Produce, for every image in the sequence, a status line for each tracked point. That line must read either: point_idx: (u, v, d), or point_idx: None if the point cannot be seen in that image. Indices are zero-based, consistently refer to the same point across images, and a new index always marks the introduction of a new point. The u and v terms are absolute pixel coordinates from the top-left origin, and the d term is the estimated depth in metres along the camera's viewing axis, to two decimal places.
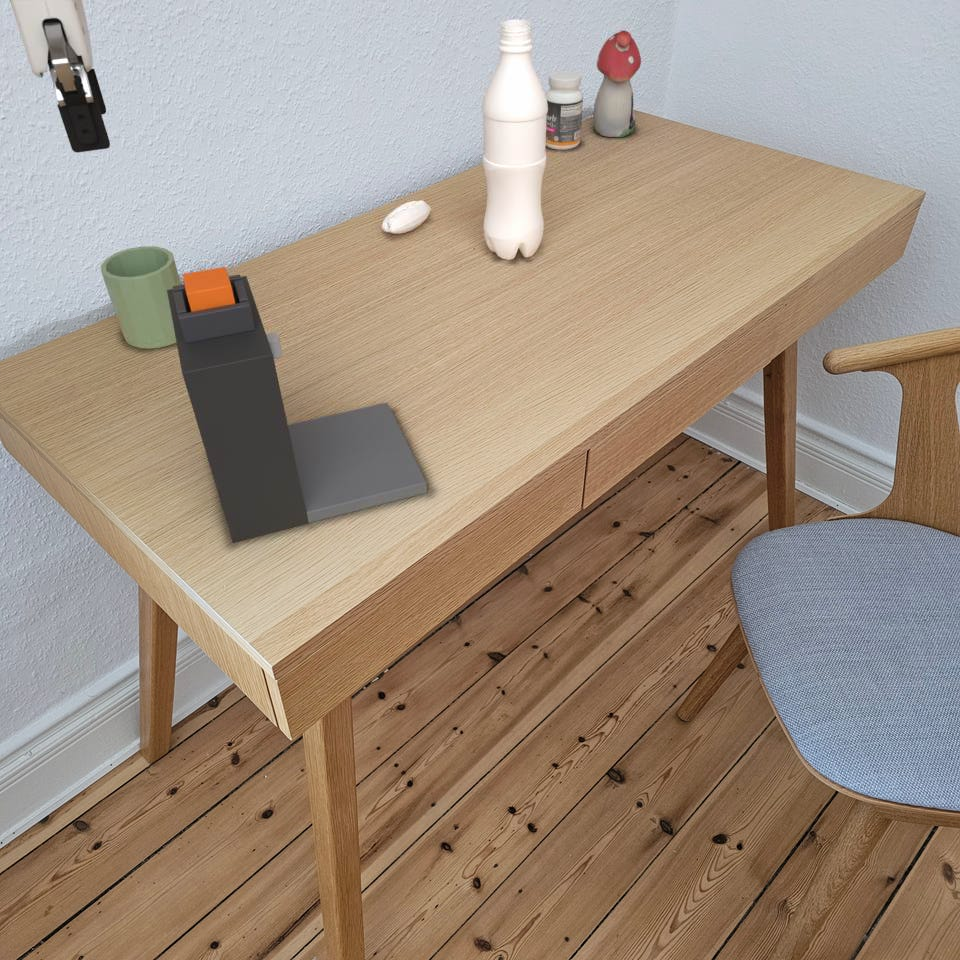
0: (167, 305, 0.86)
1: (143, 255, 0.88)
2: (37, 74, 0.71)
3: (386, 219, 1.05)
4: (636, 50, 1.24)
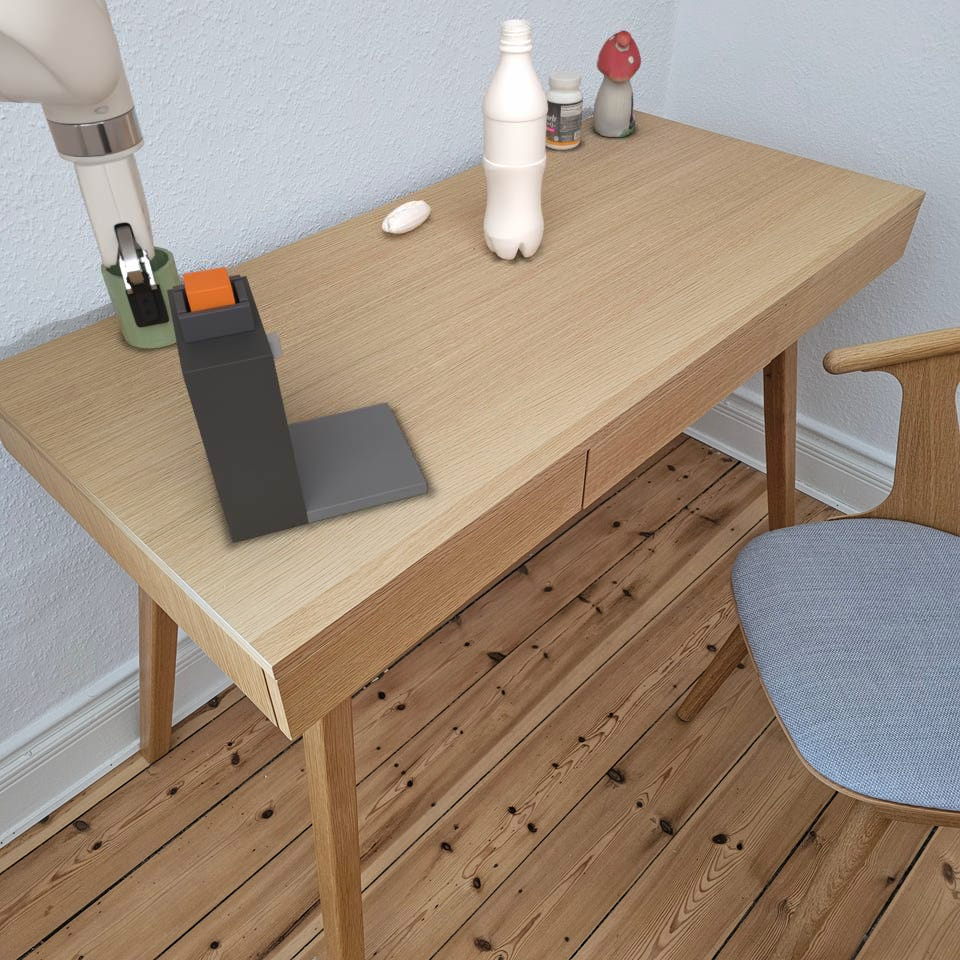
0: (167, 305, 0.86)
1: (143, 255, 0.88)
2: (107, 266, 0.80)
3: (386, 219, 1.05)
4: (636, 50, 1.24)
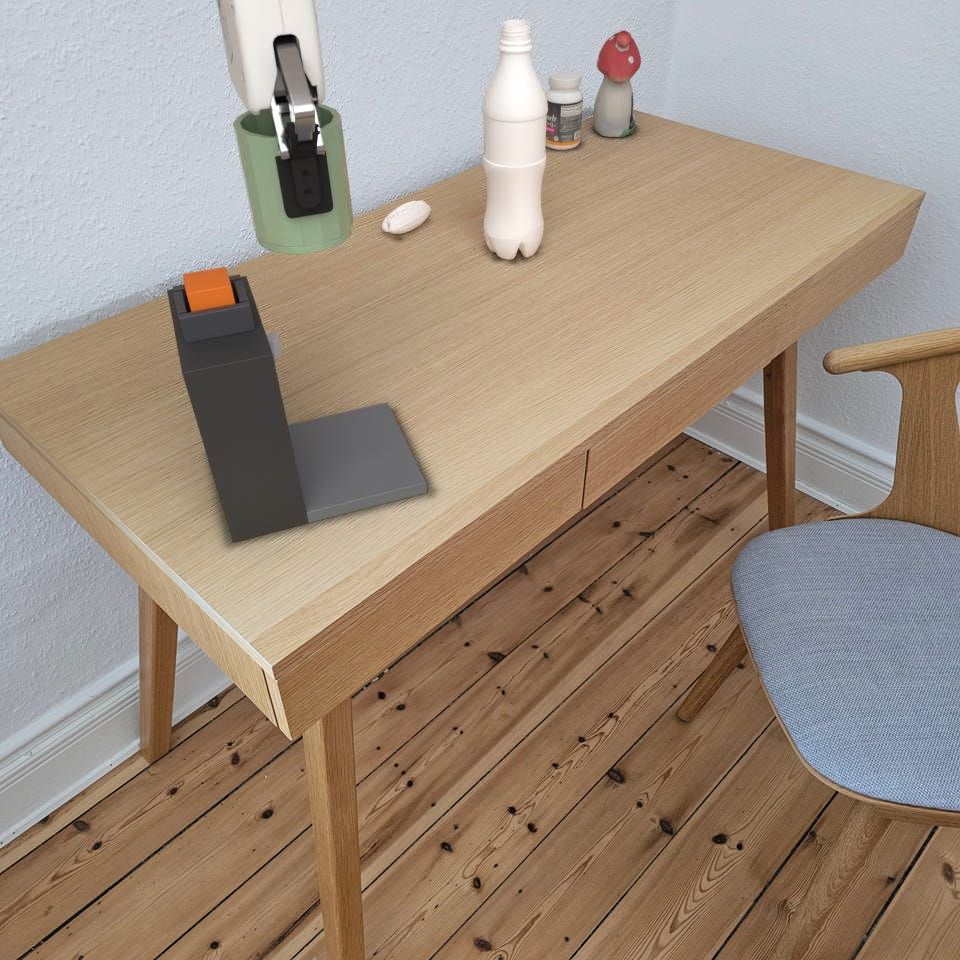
0: None
1: (288, 117, 0.59)
2: (255, 111, 0.51)
3: (386, 219, 1.05)
4: (636, 50, 1.24)
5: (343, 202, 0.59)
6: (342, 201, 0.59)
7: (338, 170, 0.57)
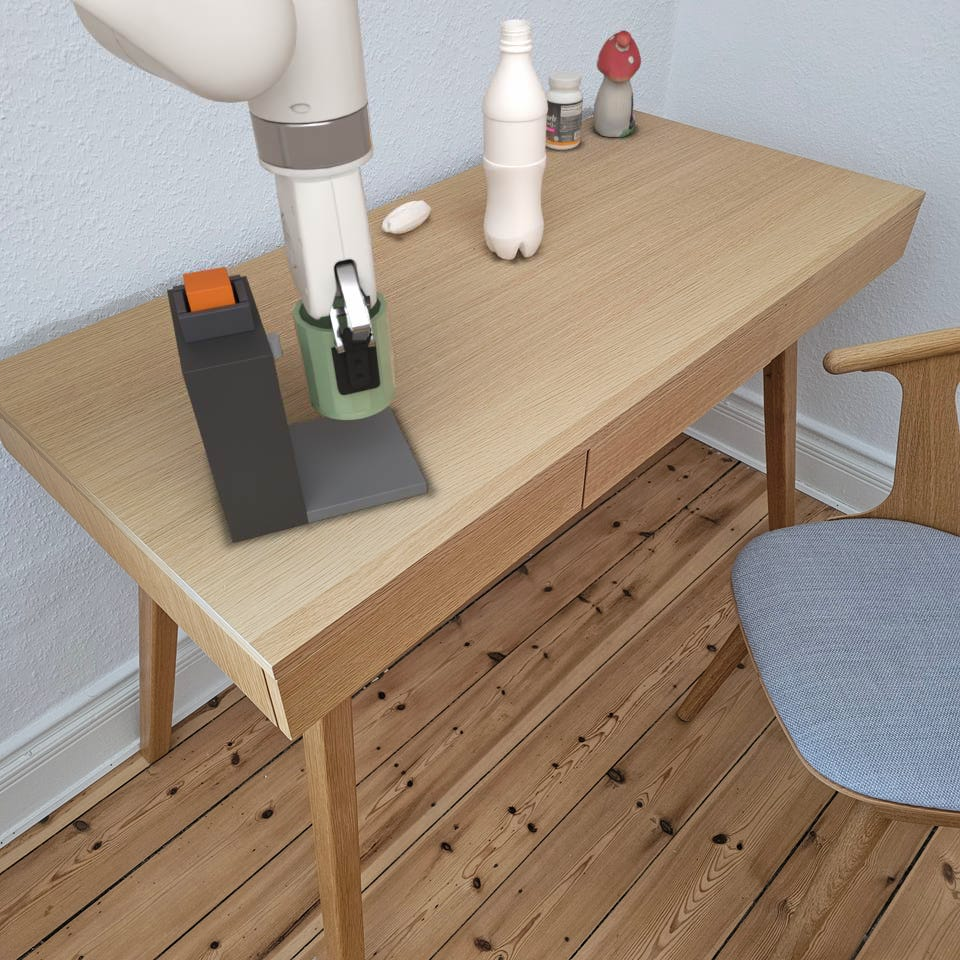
0: (378, 364, 0.64)
1: None
2: (316, 318, 0.58)
3: (386, 219, 1.05)
4: (636, 50, 1.24)
5: (388, 374, 0.66)
6: (387, 373, 0.66)
7: (384, 350, 0.65)
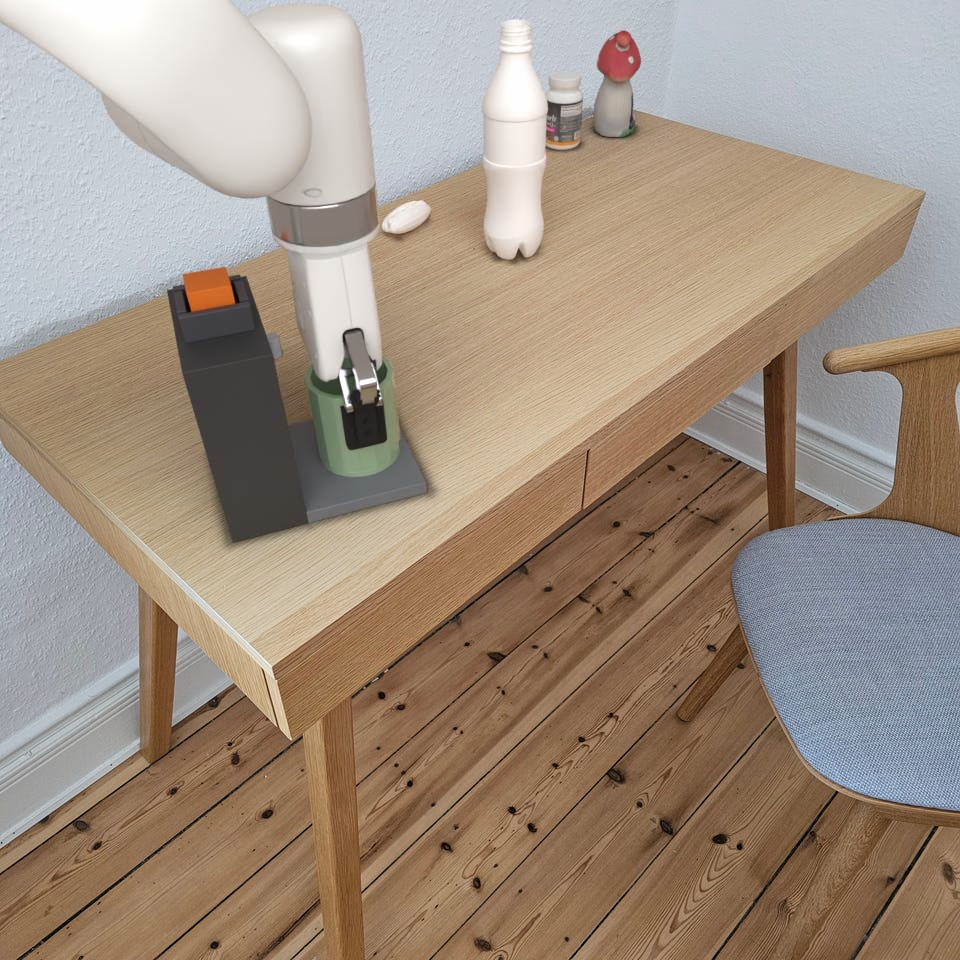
0: None
1: (348, 360, 0.70)
2: (325, 380, 0.62)
3: (386, 219, 1.05)
4: (636, 50, 1.24)
5: (394, 434, 0.70)
6: (393, 433, 0.70)
7: (391, 412, 0.68)
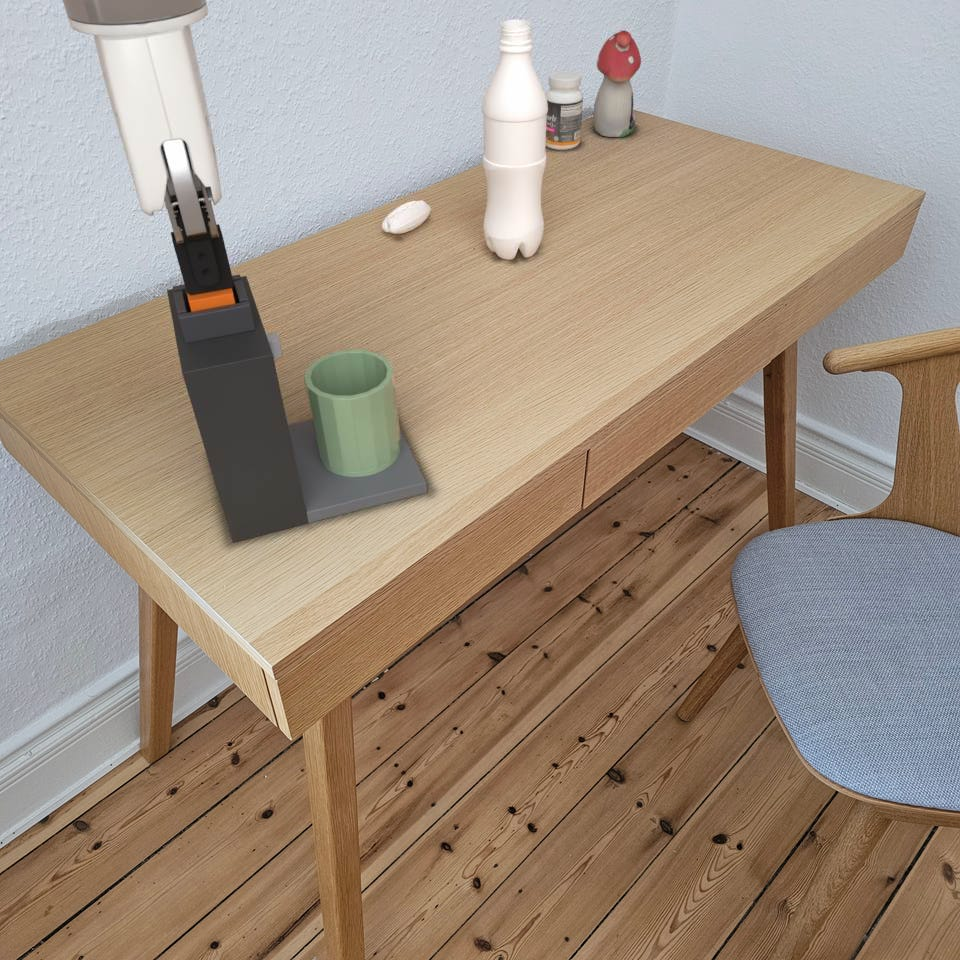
0: (384, 426, 0.68)
1: (348, 360, 0.70)
2: (148, 213, 0.50)
3: (386, 219, 1.05)
4: (636, 50, 1.24)
5: (394, 434, 0.70)
6: (393, 433, 0.70)
7: (391, 412, 0.68)
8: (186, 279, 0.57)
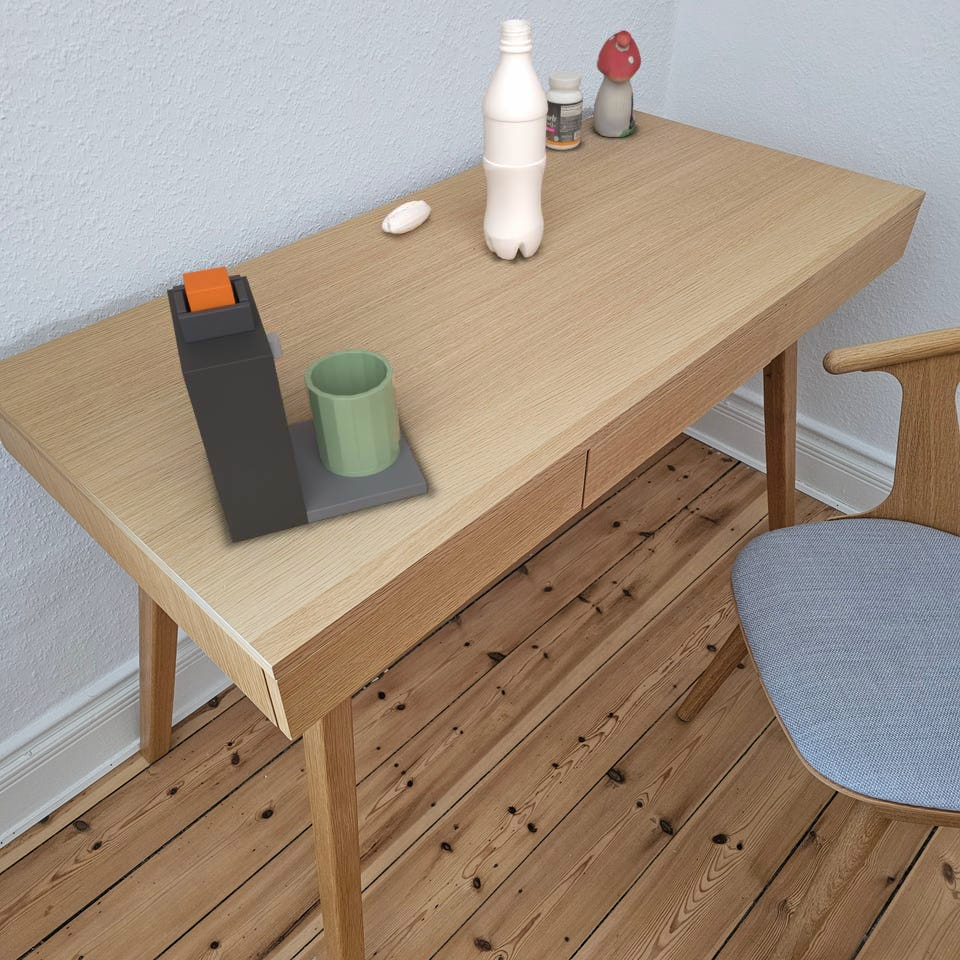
0: (384, 426, 0.68)
1: (348, 360, 0.70)
2: None
3: (386, 219, 1.05)
4: (636, 50, 1.24)
5: (394, 434, 0.70)
6: (393, 433, 0.70)
7: (391, 412, 0.68)
8: None
